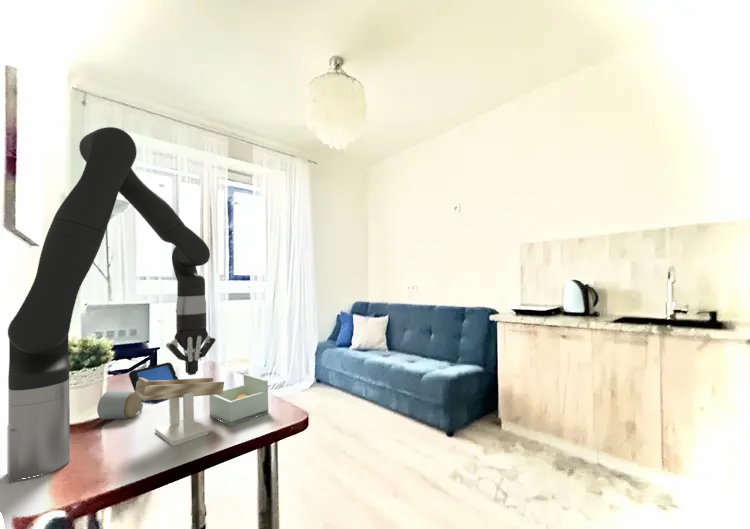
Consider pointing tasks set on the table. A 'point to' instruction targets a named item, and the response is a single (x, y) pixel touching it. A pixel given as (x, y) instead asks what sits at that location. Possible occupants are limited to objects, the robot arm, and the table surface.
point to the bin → (241, 401)
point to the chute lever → (176, 388)
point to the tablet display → (153, 375)
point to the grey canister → (119, 405)
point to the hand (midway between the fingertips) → (191, 374)
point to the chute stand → (181, 422)
